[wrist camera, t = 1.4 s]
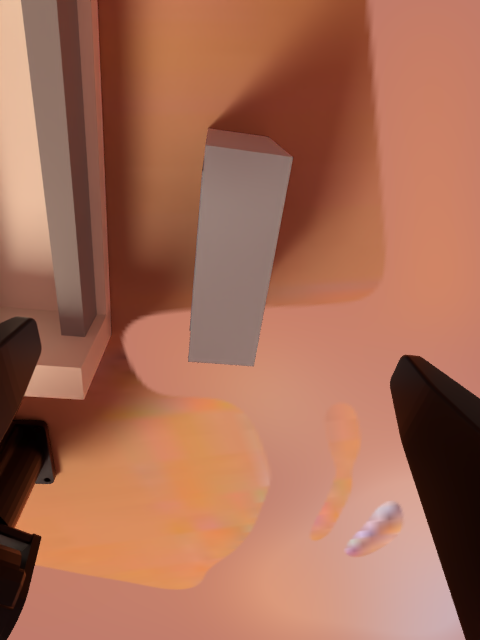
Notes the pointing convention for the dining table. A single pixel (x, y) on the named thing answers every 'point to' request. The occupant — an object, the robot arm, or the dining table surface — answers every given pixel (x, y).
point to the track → (54, 188)
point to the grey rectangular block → (235, 244)
